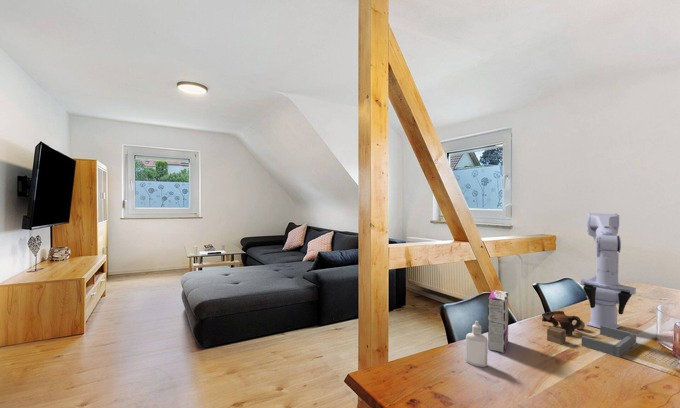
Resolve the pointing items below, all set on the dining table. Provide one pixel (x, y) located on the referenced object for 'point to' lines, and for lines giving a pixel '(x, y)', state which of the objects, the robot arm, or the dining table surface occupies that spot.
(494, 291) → the candy bar box
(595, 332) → the dining table surface
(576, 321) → the cork ball
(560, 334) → the walnut block
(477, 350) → the eye dropper bottle
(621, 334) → the corral
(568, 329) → the pottery mug
